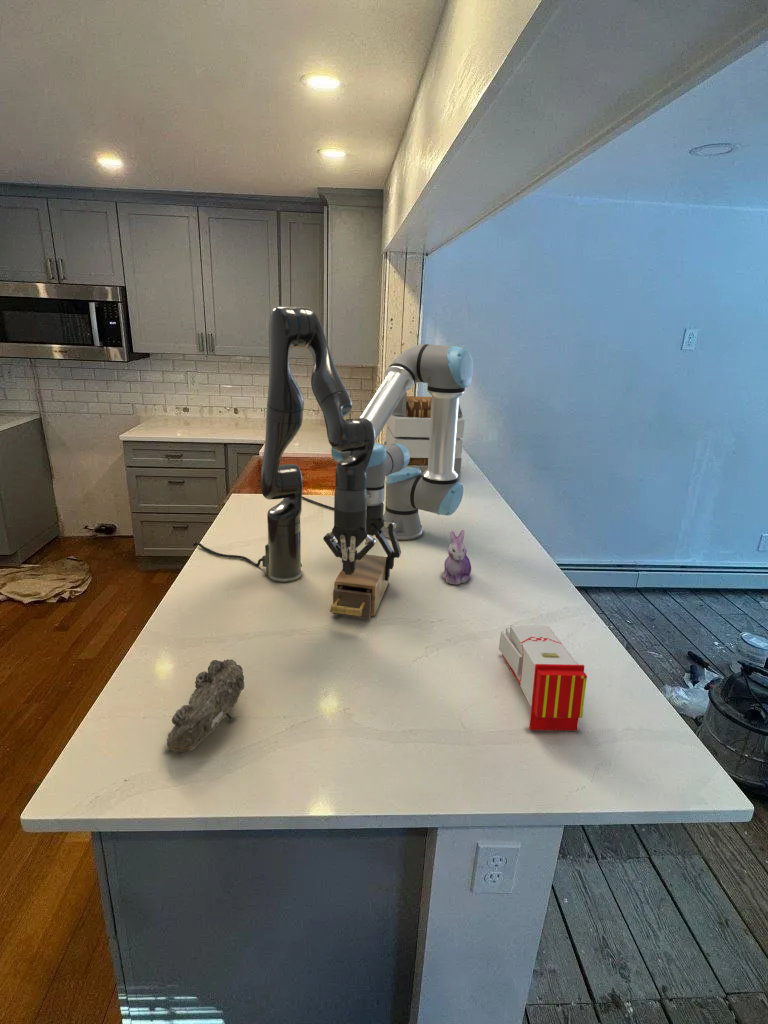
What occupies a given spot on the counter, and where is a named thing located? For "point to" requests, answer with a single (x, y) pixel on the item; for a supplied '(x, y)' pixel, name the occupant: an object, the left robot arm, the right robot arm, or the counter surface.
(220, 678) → the fossil
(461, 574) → the figurine
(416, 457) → the grey slatted crate
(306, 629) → the counter surface
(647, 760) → the counter surface
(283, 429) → the left robot arm
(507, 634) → the toy
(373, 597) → the cabinet
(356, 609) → the drawer
